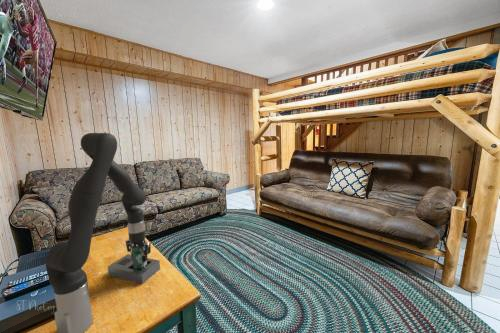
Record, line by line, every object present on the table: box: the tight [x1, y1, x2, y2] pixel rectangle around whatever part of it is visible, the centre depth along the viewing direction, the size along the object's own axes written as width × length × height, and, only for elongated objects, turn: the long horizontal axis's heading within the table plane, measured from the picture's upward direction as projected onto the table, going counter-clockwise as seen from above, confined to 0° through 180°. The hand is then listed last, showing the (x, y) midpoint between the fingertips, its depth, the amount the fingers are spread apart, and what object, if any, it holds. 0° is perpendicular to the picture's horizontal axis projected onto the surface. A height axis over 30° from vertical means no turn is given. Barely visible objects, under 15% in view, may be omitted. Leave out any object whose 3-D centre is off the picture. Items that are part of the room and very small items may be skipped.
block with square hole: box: [107, 253, 161, 285], centre depth 110 cm, size 12×22×5 cm, turn 72°
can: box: [131, 245, 147, 271], centre depth 108 cm, size 6×6×15 cm
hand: (139, 260), depth 108 cm, fingers closed on can, 6 cm apart
